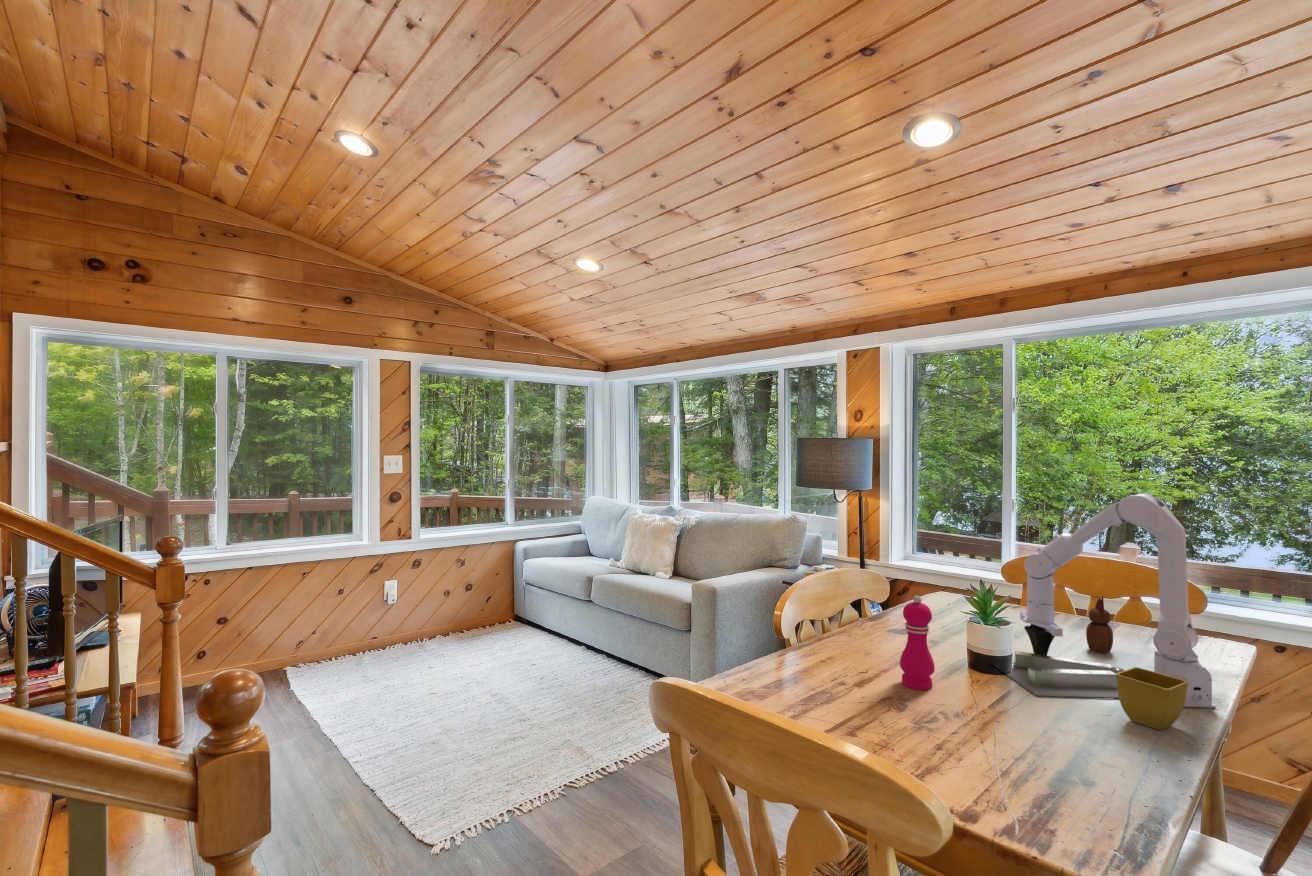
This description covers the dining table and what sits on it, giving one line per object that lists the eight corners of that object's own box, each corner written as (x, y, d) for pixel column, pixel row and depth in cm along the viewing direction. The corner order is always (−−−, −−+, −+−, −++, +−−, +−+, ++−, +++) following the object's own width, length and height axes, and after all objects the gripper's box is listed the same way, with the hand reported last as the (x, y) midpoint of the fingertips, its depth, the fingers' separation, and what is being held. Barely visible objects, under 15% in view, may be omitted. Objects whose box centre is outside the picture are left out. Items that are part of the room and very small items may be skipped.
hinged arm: (1121, 679, 140) (1121, 665, 140) (1125, 685, 136) (1125, 671, 136) (1014, 663, 150) (1014, 650, 150) (1015, 668, 146) (1016, 655, 146)
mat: (1166, 700, 130) (1166, 698, 130) (1036, 696, 131) (1036, 695, 131) (1101, 666, 150) (1101, 665, 150) (989, 663, 151) (989, 662, 151)
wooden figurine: (1113, 657, 157) (1113, 598, 157) (1085, 652, 160) (1085, 595, 161) (1113, 650, 162) (1113, 594, 163) (1086, 646, 166) (1086, 590, 166)
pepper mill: (938, 692, 133) (938, 600, 133) (903, 689, 134) (903, 598, 134) (930, 680, 140) (930, 592, 140) (896, 677, 141) (897, 591, 141)
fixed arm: (1109, 683, 138) (1109, 670, 138) (1117, 688, 135) (1117, 674, 135) (1028, 681, 139) (1028, 668, 139) (1034, 686, 136) (1034, 672, 136)
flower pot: (1189, 727, 117) (1189, 680, 117) (1169, 738, 113) (1169, 689, 113) (1135, 710, 125) (1135, 666, 125) (1114, 719, 120) (1114, 673, 121)
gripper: (1008, 594, 158) (1008, 646, 158) (1041, 609, 144) (1041, 667, 144) (1035, 595, 158) (1035, 647, 158) (1071, 609, 144) (1071, 667, 143)
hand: (1040, 657), depth 151 cm, fingers closed
